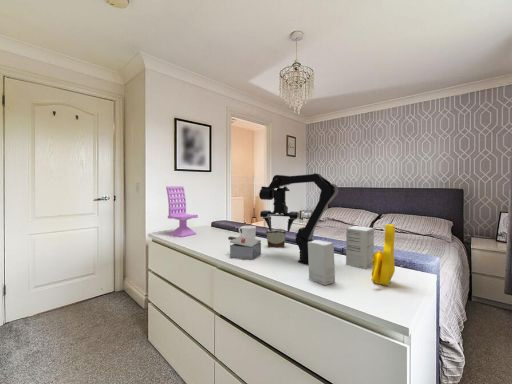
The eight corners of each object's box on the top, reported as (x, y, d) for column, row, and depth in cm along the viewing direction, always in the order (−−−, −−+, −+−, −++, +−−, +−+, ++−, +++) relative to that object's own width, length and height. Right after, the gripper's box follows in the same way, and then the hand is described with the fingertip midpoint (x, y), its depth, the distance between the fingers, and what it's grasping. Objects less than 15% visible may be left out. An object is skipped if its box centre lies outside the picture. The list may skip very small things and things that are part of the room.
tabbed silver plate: (260, 241, 133) (261, 237, 133) (252, 247, 122) (252, 242, 122) (234, 236, 138) (234, 232, 138) (223, 241, 127) (224, 236, 127)
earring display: (181, 237, 173) (181, 186, 172) (165, 234, 182) (165, 186, 181) (197, 234, 185) (197, 186, 184) (181, 231, 195) (181, 186, 194)
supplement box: (354, 260, 122) (354, 225, 121) (374, 264, 116) (374, 227, 115) (345, 264, 115) (345, 227, 115) (366, 269, 109) (366, 230, 108)
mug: (257, 242, 160) (257, 226, 160) (254, 245, 151) (254, 228, 151) (240, 241, 162) (240, 225, 161) (236, 244, 153) (236, 227, 153)
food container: (286, 245, 152) (286, 228, 152) (286, 247, 146) (286, 230, 145) (266, 244, 153) (266, 228, 153) (265, 247, 147) (265, 230, 147)
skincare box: (335, 282, 94) (335, 242, 94) (324, 286, 91) (324, 245, 90) (317, 275, 101) (318, 238, 101) (307, 279, 97) (307, 240, 97)
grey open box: (260, 253, 133) (260, 242, 133) (252, 260, 122) (252, 247, 122) (240, 251, 137) (240, 240, 137) (230, 257, 126) (230, 245, 126)
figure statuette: (375, 273, 103) (376, 220, 103) (397, 278, 99) (398, 221, 98) (366, 288, 89) (366, 226, 88) (391, 294, 84) (392, 228, 84)
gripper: (301, 199, 129) (301, 230, 130) (266, 199, 136) (266, 227, 136) (297, 201, 119) (296, 234, 119) (259, 200, 126) (259, 231, 126)
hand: (279, 231), depth 126 cm, fingers open, 9 cm apart
